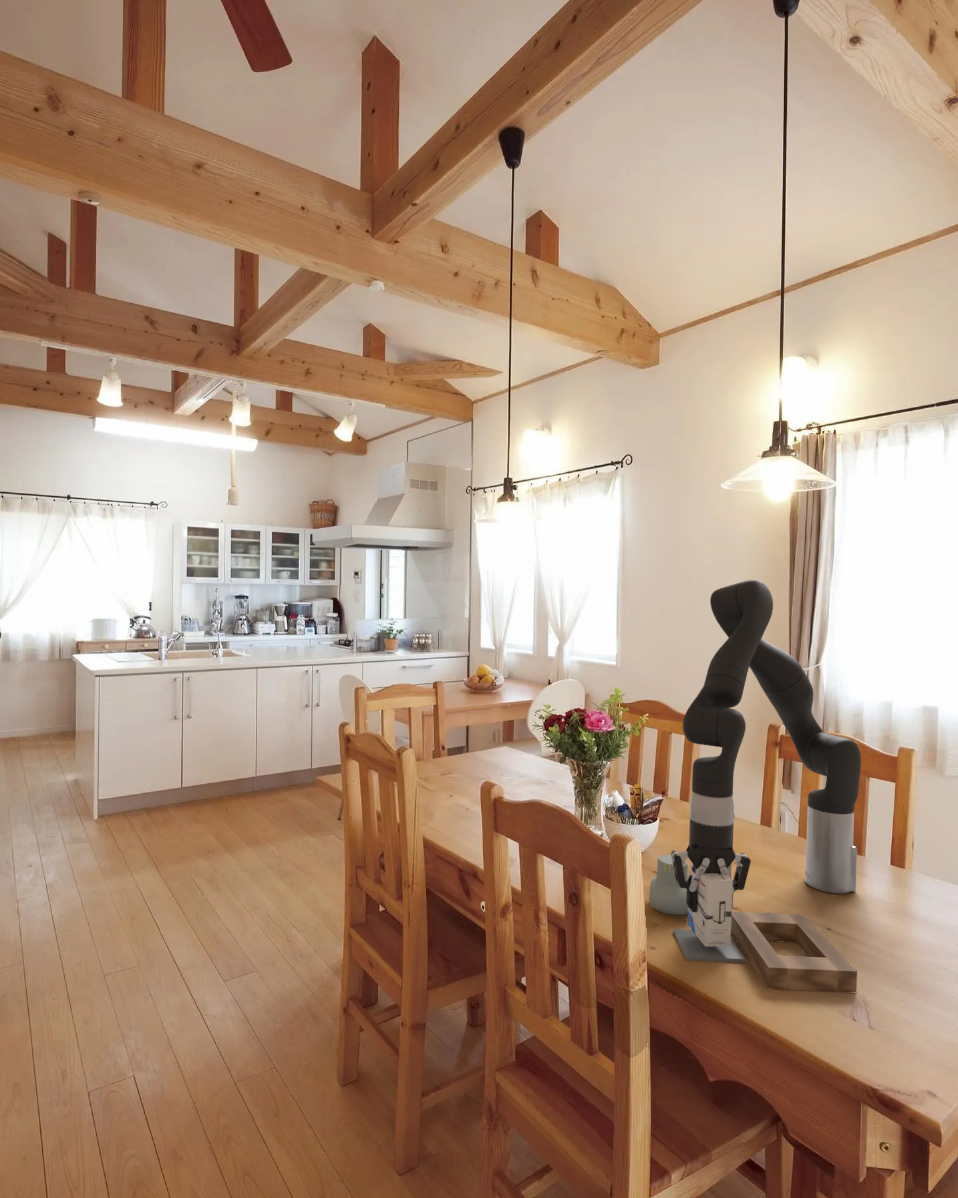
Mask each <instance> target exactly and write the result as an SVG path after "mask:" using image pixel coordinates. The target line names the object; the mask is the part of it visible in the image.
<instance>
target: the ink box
mask: <svg viewBox="0 0 958 1198" xmlns="http://www.w3.org/2000/svg"><path fill="white" fill-rule="evenodd" d="M692 864H693V863H692V862H691V863H690V864H689V870H690V869H691V866H692ZM696 871H697V869H696V868H695V872H696ZM732 890H733V879H732V877H731V878H730V877H729V876H728V875H722V874H718V873H704V875H701V880H700V881H699V884H698V886H697V888H696V892H697V911H696V912H692V911H691V909H689V907H688V913H687V926H688V927H689V928H690V930H692V931H693V932H694V933H695V934H696V936H697V937H698V938H699V939H700V941H701V942H702V943H703V944H704V946H705V947H710V946H731V938H732V934H731V919H732V911H733V908H732Z"/></svg>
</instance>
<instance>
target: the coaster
mask: <svg viewBox="0 0 958 1198" xmlns="http://www.w3.org/2000/svg"><path fill="white" fill-rule="evenodd" d="M672 933H673V935H674V937H675V940H676V941H677V943H678V945H679V948H680V949H681V951H682V953H683V956H684V958H685V959H686V961H696V960H697V961H698V960H699V961H701V962H702V961H703V962H718V961H719V962H724V963H741V964H742V963H743V964H744V963H746V958H745V957H744V955H743V954H742V952H741V950H740V949H739V947H738V945H737V944H736V943H735V941H734V940H733V938H732V937H731V946H710V947H705V946H704V944H703V943H702V942H701V941H700V939H699V938H698V937H697V936H696V934H695V933H694V932H693V931H692V929H680V928H679V929H678V928H672ZM699 961H698V962H699Z"/></svg>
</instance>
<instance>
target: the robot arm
mask: <svg viewBox="0 0 958 1198" xmlns="http://www.w3.org/2000/svg"><path fill="white" fill-rule="evenodd" d="M709 599H710V601H709V602H710V604H709V605H710V608H711V613H712V614H713V617H714V618H715V620H716V622H717V624H718V625H719V627H720V628H721V630H722V631H723V632H724V634H725V635H726V636H727V637H728V638H727V639H726V641H725V642H724V643H723V644H722V645H721V646H720V647H719V648H718V650H717V651H716V652H715V654H714V655H713V657H712V658H711V661H710V662H709V665H708V668H707V673H706V676H705V680H704V683H703V686H702V688H701V689H700V691H699V693H697V696H696V697H695V698H694V700H692V702H691V704H690V705H689V706H688V709H687V710H686V712H685V715H684V717H683V720H682V730H683V734H684V736H685V738H686V739H687V740H688V741H689V742H690V743H691V744H696V745H701V746H703V745H704V746H708V747H715V748H716V747H717V748H721V752H720V754H719V755H716V756H704V757H699V758H697V759H695V760H694V761H693V765H692V773H691V774H692V775H691V777H692V779H691V796H690V803H689V829H688V833H689V835H688V836H689V839H688V846H687V848H686V850H682V851H677V850H672V851H671V852H670V855H671V856H672V861H673V867H674V872H675V877H676V881H677V883H678V884H679V886H680V887H681V888H685V889H687V893H686V903H687V905H688V907H689V909H691V911H692V912H696V911H697V892H696V888H697V886H698V884H699V881H700V880H701V875H704V873H718V874H722V875H728V876H729V873H728V870H727V868H728V867H729V866H730V864H731V863H732V864H733V862H734V863H735V865H736V868H735V872H734V876H733V879H732V881H733V890H732V909H733V907H734V902H733V901H734V894H735V891H743V890H744V889H745V886H746V883H747V877H748V874H749V872H750V871H749V870H750V866H751V863H752V862H751V859H750V857H749V856H748V855H747V854H746V853H745V852H740V853H738V852H735V851H734V827H735V825H734V820H735V803H734V775H735V773H734V772H735V766H736V762H737V757H738V754H739V751H740V748H741V745H742V743H743V740H744V737H745V733H746V730H747V729H746V720H745V718H744V716H743V713H741V712H740V711H739V710H737V709H735V708H734V707H736V706H738V705H739V703H740V702H741V700H742V699H743V694H744V689H745V686H746V685H745V684H746V681H747V676H748V671H749V668H750V670H751V671H752V673H753V675H754V677H755V678H756V680H757V682H758V684H759V685H760V688H761V689H762V691H763V692H764V694H765V696H766V697H767V699H768V700H769V702H770V703H771V705H772V706H773V708H774V709H775V711H776V713H777V715H778V716H779V718H780V720H781V722H782V723H783V725H784V727H785V728H786V730H787V732H788V734H789V736H790V738H791V741H792V743H793V744H794V745H793V746H794V747H795V749H796V752H797V754H798V757H799V758H800V760H801V762H802V763H803V765H804V767H806V768H807V770H809V771H810V772H812V773H815V774H817V775H821V776H824V777H826V779H825V787H824V788H819V789H813V790H811V791H810V792H809V793H808V794H807V810H806V811H807V813H806V814H807V815H806V816H807V817H806V845H805V846H806V849H805V869H804V870H805V871H804V872H805V873H804V874H805V877H804V878H805V879H804V880H805V881H804V882H805V883H806V884H807V885H808V886H809V887H811V888H813V889H816V890H818V891H822V892H825V893H830V894H847V893H849V892H856V891H857V864H858V863H857V861H858V849H857V846H855V845H854V830H855V829H854V826H855V804H856V802H857V799H858V798H859V791H860V790H859V787H860V777H861V768H862V765H861V764H862V757H861V756H862V755H861V751H860V748H859V746H858V744H857V743H856V742H855V741H854V740H852V739H850V738H846V737H843V736H838V735H835V734H830V733H827V732H825V731H824V730H823V729H822V728H821V726H819V723H818V722H817V720H816V718H815V717H814V715H813V711H812V709H813V704H814V703H813V702H814V687H813V685H812V683H811V681H810V679H809V677H808V675H807V673H806V672H805V670H804V669H803V667H802V665H801V664H800V662H799V661H798V660H797V659H796V658H795V657H794V656H792V655H791V654H789V653H788V652H786V651H784V650H783V649H781V648H779V647H778V646H775V644H772V643H770V642H768V641H767V640H766V639H764V638H763V636H764V634H765V631H766V630H767V627H768V625H769V623H770V620H771V618H772V615H773V610H774V600H773V599H774V598H773V596H772V593H771V591H770V588H769V587H768V586H767V585H766V583H764V582H763V581H762V580H760V579H750V580H749V579H748V580H745V581H741V582H737V583H734V584H733V583H732V584H729V585H728V586H727V585H726V586H724V587H720V588H717V589H715V590H714V591H713V592H712V593H711V596H710V598H709ZM687 859H689V861H690V862H691V863H693V864H692V866H691V869H690V868H689V872H688V873H689V874H688V875H687V879H685V877H684V871H683V866H682V865H684V864H685V860H686V861H687ZM695 868H696V869H697V871H696V872H695ZM729 877H730V876H729Z"/></svg>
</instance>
